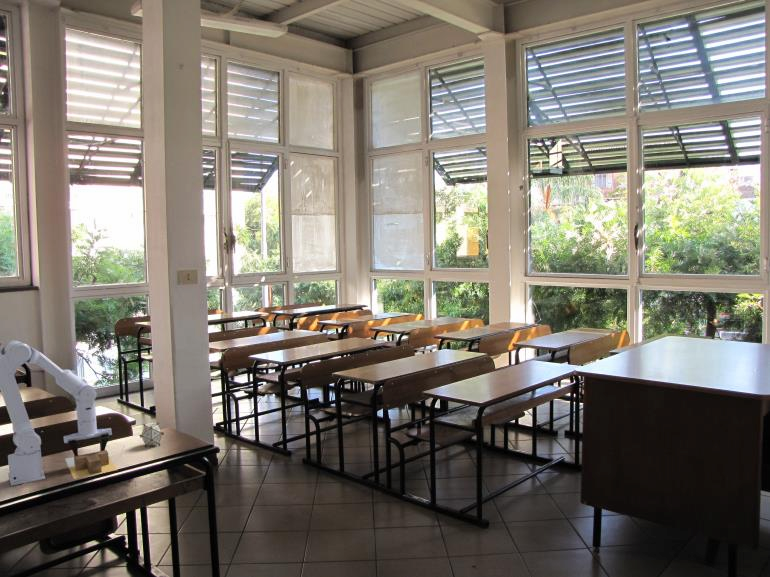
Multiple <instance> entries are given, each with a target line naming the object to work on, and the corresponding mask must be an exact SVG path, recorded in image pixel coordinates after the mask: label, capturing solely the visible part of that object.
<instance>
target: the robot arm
mask: <svg viewBox="0 0 770 577" xmlns="http://www.w3.org/2000/svg"><path fill="white" fill-rule="evenodd" d="M26 363H28V364H34V365H37V366H39V367H40V368H41V369H42V370H44V371H45V372H47V373H49V374H50V375H51V376H53V377H54V378H55V379H54V380H55V384H57V385H58V386H59V387H60V388H62V389H64V391H66V392H68V393H69V394H70V395H71V396H73V398H74V399H76V400H75V402H76V419H77V431H78V432H76V433H72V434H68V435H64V436H63V442H64V444H68V446H69V448H70V449H71V451H72V453H73V455H74V456H78V455H79V453H78V452H79V451H78V450H79V448H78V443H77V441H82V440H88V439H93V438H97V437H98V440H99V451H104V450H106V447H107V445H108V442H109V440H110V436H112V435H113V432H112V428H111V427H109V428H98V427H97V413H96V412H97V411H96V405H95V404H96V402H95V400H96V398H97V396H98V393H97V392H96V389H95V387H94V386H92V385H90V384H88V381H87V380H86V379H82V377H80V376H78V375H77V372H76V371H75V370H74V369H72V370H71V369H62V368H61V367H59V366H58V365H57V364H55V362H53V361H52V360H51V359H49V357H47V356H46V355H44V353H42V352H40V351H38V349H35V348H34V347H32V346H30V345H29V344H26V343H24V342H21V341H20V340H10V341H8V342H6V344H4V346H3V347H2V348H1V349H0V393H1V396H2V398H3V401H4V404H5V407H6V410H7V413H8V415H9V419H10V421H11V423H12V431H13V437H12V441H13V444H14V445H15V446H16V448H15V450H14V453H11V454H8V455H7V460H8V461H7V462H8V472H7V475H8V479H9V482H10V483H9V484H10V486H16V485H23V484H25V483H30V482H36V481H41V480H44V479H46V476H45V473H44V471H43V461H42V450H41V445H42V439H41V436H40V435H39V434H38V433H36V432H35V429H34V427H33V425H32V422H31V421H30V418H29V415H28V412H27V410H26V407H25V403H24V401H23V398H22V394H21V391H20V389H19V386H18V384H17V380H16V377H15V373H16V372H17V371H18V370H19V368H20V367H21V366H22V365H24V364H26ZM74 456H73V457H74Z"/></svg>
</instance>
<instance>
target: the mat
mask: <svg viewBox="0 0 770 577" xmlns="http://www.w3.org/2000/svg"><path fill="white" fill-rule="evenodd" d="M108 457H109V465H104V466H101V469H102V472H100V473H95V474H89V472H88V470H87V469H84V470H79V471H76V470H75V464H74V456H71V457H67V458H64V460H65V463H66V465H67V467H68V469H69V471H70V473H71V476H72V478H73V480H76V479H81V478H85V477H90V476H95V475H99V474H105V473H109V472H113V471H118V468H117V467H116V465H115V463H114V462H113V461H112V459H111V458H110V456H109V455H108Z"/></svg>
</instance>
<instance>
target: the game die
mask: <svg viewBox="0 0 770 577" xmlns="http://www.w3.org/2000/svg"><path fill="white" fill-rule="evenodd" d="M159 424H160V422H157V423H156V424H150V425H149V424H148V425H147V424H146V425H145V423H144V424H143V430H142V431H141V434H139V435H138V436H139V437H140V438H141V439H142V441H143V444H144V447H145V448H146V447H147V446H153V445H154V446H155V445H158V446H161V444H160V442H161V439H162V436H164V435H165V433H164V431H162V430H161V427H160V426H159Z"/></svg>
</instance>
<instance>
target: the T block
mask: <svg viewBox="0 0 770 577" xmlns="http://www.w3.org/2000/svg"><path fill="white" fill-rule="evenodd" d="M108 456H109V452H108V450H107V449H105V450H104V451H100V450H99V451H94V452H90V453H85V454H78V456H73V457H74V464H75V470H76V471H79V470H84V469H87V470H88V472H89V474H95V473H100V472H102V469H101V466H104V465H109V458H110V456H109V457H108ZM100 474H101V473H100ZM95 475H96V474H95Z"/></svg>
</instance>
